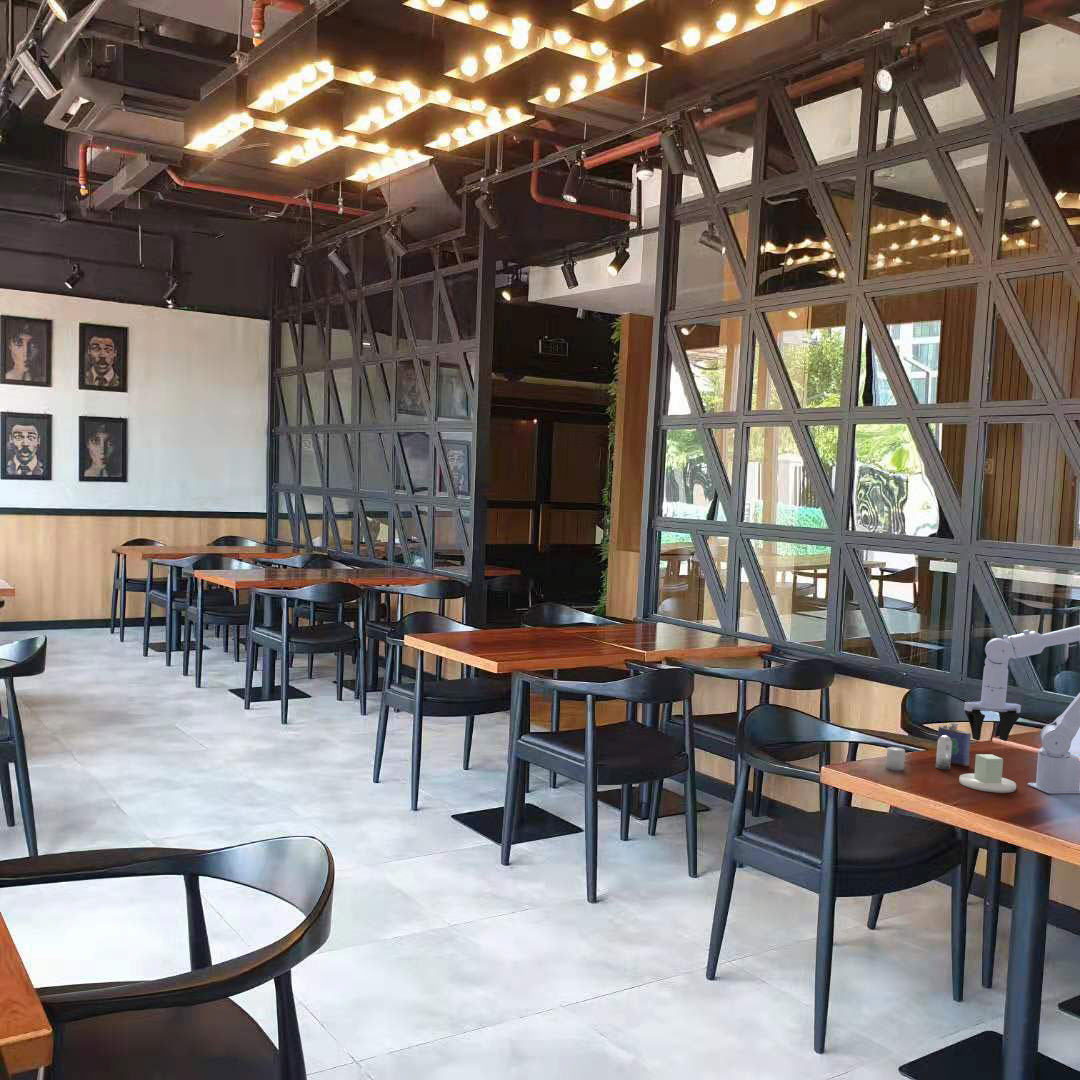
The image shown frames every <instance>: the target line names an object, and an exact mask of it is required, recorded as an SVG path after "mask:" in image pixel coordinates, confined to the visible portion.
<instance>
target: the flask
mask: <svg viewBox="0 0 1080 1080" xmlns="http://www.w3.org/2000/svg"><path fill="white" fill-rule="evenodd" d="M950 725H951V726H949V725H942V726H941V725H939V727H938V730H937V731H938V732H937V743H938V740H939V738H940V737H941V736H943V735H947V736H949V737H950V738H951V741H952V752H951V764H952V765H957V766H959V767H961V766H962V767H968V766H969V763H970V748H971V747H970V746H971V738H972V733H971V731H970V732H969V731H964V730H960V729H958V726H959V723H957V722H956V723H954V722H950ZM937 743H936V744H937ZM935 754H936V755H937V750H936V753H935ZM951 764H950V765H951Z"/></svg>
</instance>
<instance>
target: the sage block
mask: <svg viewBox="0 0 1080 1080" xmlns="http://www.w3.org/2000/svg"><path fill="white" fill-rule="evenodd" d="M974 762H975V763H974V778H975V779H977V780H979V781H981V782H984V783H1001V781H1002V778H1003V765H1004V759H1003V758H1002V757H999V756H997V755H994V754H991V753H990V754H986V753H985V754H983V753H981V754H979V753H978V754H975V761H974Z"/></svg>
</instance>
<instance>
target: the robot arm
mask: <svg viewBox="0 0 1080 1080" xmlns="http://www.w3.org/2000/svg"><path fill="white" fill-rule="evenodd" d="M1022 632H1023V633H1018V634H1012V635H1008V634H1004V635H1003V638H999V637H995V638H991V639H990V640H989V641H987V643H986V645H985V647H984V652H985V654H986V658H985V659H984V664H985V665H984V666H983V675H982V682H981V683H982V687H981V696H980V701H978V700H977V701H965V702H964V706H963V710H964V712H965V715H966V718H967V719H968V722H969V726H970V730H971V731H970V732H971V738H972V739H973V740H975V741H980V740H981V735H982V727H983V723H984V720H985V718H986V715H985V714H984V713H982V712H998V715H999V735H998V737H999V740H1001V741H1004V742H1007V741H1008V738H1009V735H1010V733H1011V731H1012V729H1013V727H1014V726H1015V724H1016V722H1017V721H1018V720H1019V719H1020V713H1021V709H1022V705H1021V704H1018V703H1010V702H1006V701H1007V700H1006V699H1007V692H1008V682H1009V681H1008V679H1009V669H1008V667H1009V660H1010V659H1013V660H1015V659H1020V658H1024V657H1029V656H1034V655H1038V654H1042V652H1043V651H1044V649H1045V648H1047V647H1053V646H1057V645H1058V646H1059V645H1063V644H1069V643H1074V642H1078V641H1079V642H1080V624H1078V625H1073V626H1070V627H1066V628H1062V629H1059V630H1055V631H1050V632H1046V633H1039V632H1037V631H1035V630H1031V631H1030V630H1029V629H1024V630H1023V631H1022ZM1079 729H1080V692H1078V694H1077V695H1076V696H1075V698H1073V701H1071V703H1070V704H1069V705H1068V706H1067V707H1066V709H1065V710H1064V711H1063V712H1062V714H1060V715H1059V716H1057V717H1056V719H1055V720H1053V722H1052V723H1049V724H1047V725H1045V726H1044V727H1043V728H1042V729H1041V731H1040V740H1041V745H1042V746H1041V747H1040V748H1039V749H1038V750H1037V752H1038V753H1037V762H1036V763H1037V765H1036V778H1035V779H1036V780H1035V782H1028V783H1027V785H1028V786H1030V787H1032V788H1035V789H1036V790H1039V791H1041V792H1043V793H1046V794H1053V795H1054V794H1055V795H1056V794H1080V759H1079V757H1077V756H1076V754H1072V753H1071V752H1070V751H1069V750H1070V749H1071V745H1072V741H1073V739H1074V738H1075V737H1076V736H1077V733H1078V731H1079Z"/></svg>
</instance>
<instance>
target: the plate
mask: <svg viewBox="0 0 1080 1080" xmlns="http://www.w3.org/2000/svg"><path fill="white" fill-rule="evenodd" d="M974 773H975V772H974ZM974 773H973V772H971V773H963V774H960V775H959V779H958V782H959V784H961V785H962V786H964V787H967V788H969V789H972V790H977V791H981V792H988V793H999V794H1007V793H1008V794H1009V793H1013V792H1015V791H1016V790H1017V783H1016V782H1015V781H1013V780H1011V779H1008V778H1006V777H1002V781H1001V783H984V782H981V781H979V780H977V779H975V778H974Z"/></svg>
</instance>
